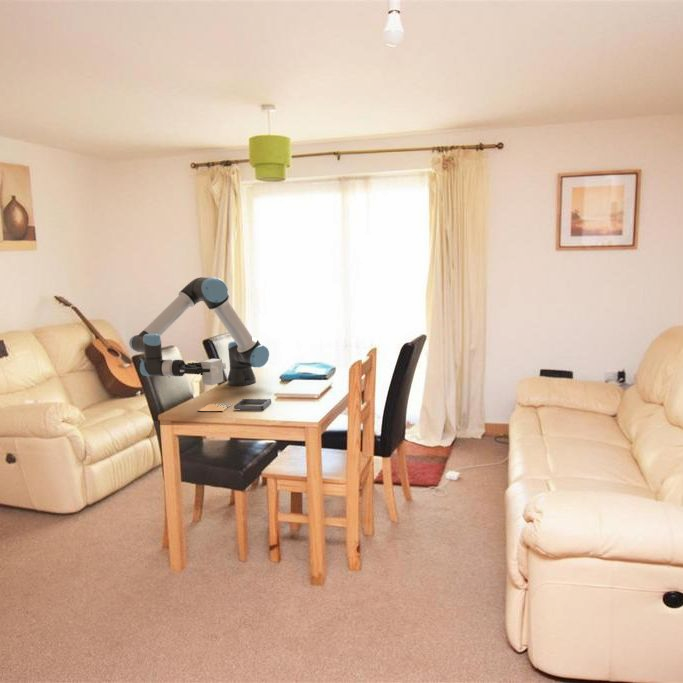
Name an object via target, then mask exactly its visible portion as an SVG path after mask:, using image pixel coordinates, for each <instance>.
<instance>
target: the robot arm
mask: <svg viewBox="0 0 683 683" xmlns="http://www.w3.org/2000/svg"><path fill="white" fill-rule="evenodd" d="M228 291H229V289H228V285H227V284H226V282H224V280H222V279H221V278H218V277H215V276H214V277H213V276H210V277H196V278H194V279H193V280H191V281H190V282H188V283H187V285H185V286H184V287H183V288H182V289H181V290H180V291H178V296H177V297H176V298H175V299H174V300H173V301H172V302H171V303H170V304H168V305H167V307H166V308H165V309H163V311H162V312H160V314H158V315H157V316H156V317H155V319H153V320H152V321H151V322H150V323H149V324H148V325H147V326H146V327H145V328H144V329H143V330H142V331H141V332H139V334H137V335H133V336H132V337H131V338H130V339H129V342H128V343H129V347H130V349H131V350H132V351H135V352H137V353H143V354H144V359H143V360H141V361H140V364H139V371H140V373H141V375H142V376H144V377H168V378H171V377H183V376H184V375H185V374H186V375H200V376H202V375H203V373H218V367H203V368H202V366H201V362H202V361H201V362H193V361H192V362H187V363H185V360H183V359H163V352H162V351H163V350H162V340H161V336H162V335H163V334H165V332H166V331H168V329H169V328H170V327H172V325H173V324H174V323H175V322H176V321H177V320H178V319H180V317H181V316H183V314H184V313H186V312H187V310H189V308H193V307H194V306H195V305H197V304H198V303H199V302H203V303H204V304H205V305H206V307H207V309H209V310H211V311H214V313H215V314H216V316H217V318H218V319H219V320H220V322H221V323H222V325H223V326H224V328H225V330H227V333H228V334H229V335H230V337H231V338H232V339H233V340H234V341H230V342H229V343H228V347H227V348H228V349H227V351H228V359H229V360H228V361H229V362H228V363H229V372H228V376H227V378H226V379H227V382H226V383H227V385H229V386H237V387H238V386H247V385H248V386H249V385H251V384H255V383H256V382H257V379H256V375H255V372H254V371H253V368H262V367H264V366H265V365H266V364H267V363H268V361H269V357H270V352H269V348H268V347H267V346H265V345H263V344H261V343H260V341H259V339H258V338H257V337H255V336H252V334H251V333H250V332H249V330H248V328H247V327H246V325H245V324H244V322H243V321H242V319H241V317H239V315H238V313H237V312H236V310H235V309H234V307H233V305H232V303H231V302H230V301H229V299H230V296H229V294H228ZM222 368H223V370H226V369H227V363H226V362H222Z"/></svg>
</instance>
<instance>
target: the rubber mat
mask: <svg viewBox="0 0 683 683" xmlns="http://www.w3.org/2000/svg"><path fill="white" fill-rule="evenodd" d="M216 404H218V406H219V405H220V404H221V405H223V404H224V405H226V407H228V406H229V405H231V404H232V403H220V402H219V403H217V402H216V403H215V405H216ZM221 405H220V406H221ZM224 405H223V406H224ZM218 406H217V407H218ZM231 406H232V405H231ZM223 408H224V407H223Z"/></svg>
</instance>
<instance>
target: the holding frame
mask: <svg viewBox="0 0 683 683" xmlns="http://www.w3.org/2000/svg"><path fill="white" fill-rule="evenodd" d="M245 403H247V404H245ZM251 404H252V405H251ZM271 404H272V399H271V398H242V399H241V400H240V401H238V402H237V403H236V404H235V405H233V408H234V409H240V410H239V411H251V410H263V411H265V410H266V409H267V408H268V407H269V406H270V405H271ZM234 409H233V410H234ZM264 409H265V410H264Z"/></svg>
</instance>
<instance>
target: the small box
mask: <svg viewBox="0 0 683 683" xmlns="http://www.w3.org/2000/svg"><path fill="white" fill-rule="evenodd" d="M222 363H223V359H221V358H209V359H207V360H203V361H201V366H202V368H203V367H218V373H203V375H201V376H202V385H204V386H205V385H206V386H208V385H209V386H215V385H218V384H221V383H223V382H224V369H223V368H222Z"/></svg>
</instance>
